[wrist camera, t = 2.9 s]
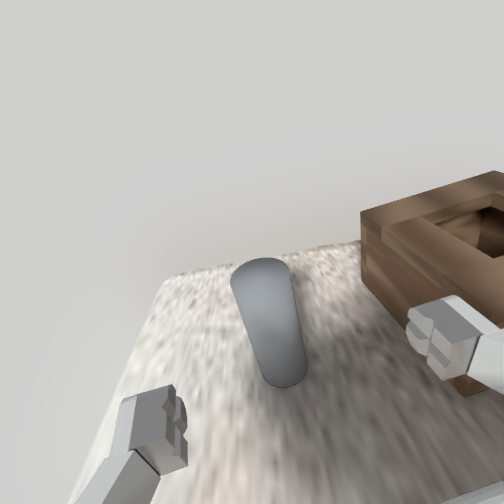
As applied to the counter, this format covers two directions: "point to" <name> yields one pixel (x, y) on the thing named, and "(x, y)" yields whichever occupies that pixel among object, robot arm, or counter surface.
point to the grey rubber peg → (271, 319)
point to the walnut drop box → (439, 252)
